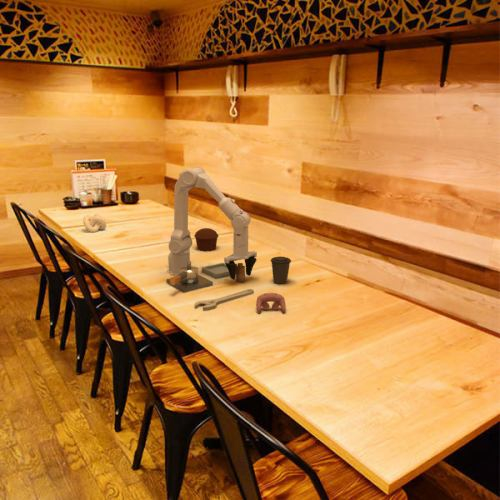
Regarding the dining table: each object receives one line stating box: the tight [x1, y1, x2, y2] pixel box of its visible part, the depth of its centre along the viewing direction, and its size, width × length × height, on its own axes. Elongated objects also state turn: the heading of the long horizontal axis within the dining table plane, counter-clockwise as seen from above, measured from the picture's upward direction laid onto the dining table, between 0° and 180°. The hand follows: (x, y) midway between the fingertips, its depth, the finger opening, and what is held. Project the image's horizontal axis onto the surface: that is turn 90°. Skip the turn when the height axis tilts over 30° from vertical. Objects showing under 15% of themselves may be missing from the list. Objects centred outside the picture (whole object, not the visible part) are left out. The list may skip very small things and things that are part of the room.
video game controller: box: [255, 292, 287, 314], centre depth 159 cm, size 10×5×7 cm, turn 93°
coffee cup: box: [270, 255, 292, 285], centre depth 184 cm, size 8×8×10 cm
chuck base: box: [166, 274, 214, 293], centre depth 182 cm, size 13×13×2 cm
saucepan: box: [169, 260, 199, 286], centre depth 177 cm, size 16×7×7 cm, turn 159°
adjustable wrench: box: [194, 288, 255, 312], centre depth 167 cm, size 25×6×2 cm, turn 126°
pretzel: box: [82, 213, 107, 233], centre depth 260 cm, size 11×12×9 cm
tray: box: [201, 262, 230, 280], centre depth 195 cm, size 11×11×2 cm
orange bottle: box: [235, 262, 246, 283], centre depth 185 cm, size 4×4×7 cm
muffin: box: [193, 227, 219, 252], centre depth 228 cm, size 12×11×10 cm
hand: (240, 277), depth 186 cm, fingers open, 7 cm apart
